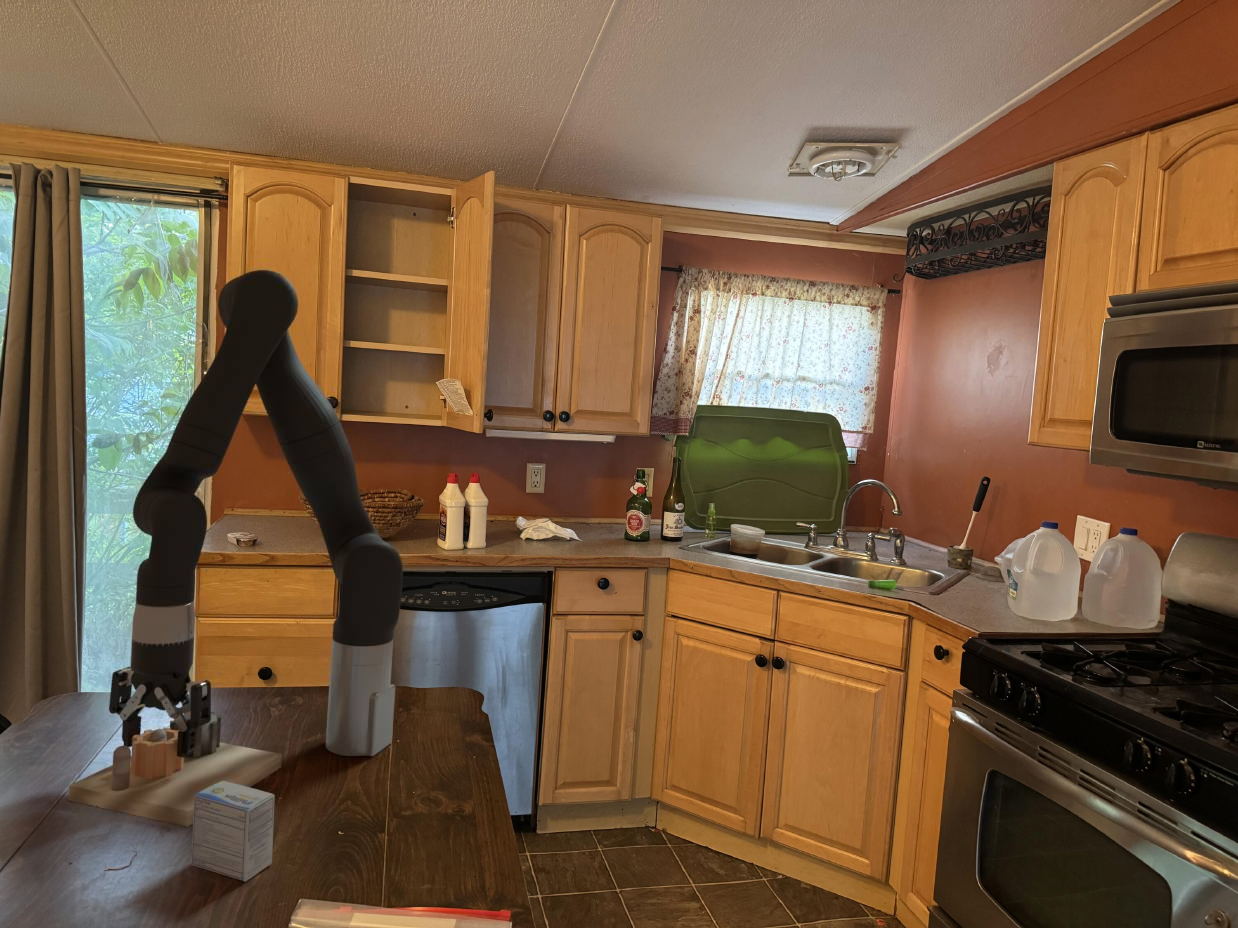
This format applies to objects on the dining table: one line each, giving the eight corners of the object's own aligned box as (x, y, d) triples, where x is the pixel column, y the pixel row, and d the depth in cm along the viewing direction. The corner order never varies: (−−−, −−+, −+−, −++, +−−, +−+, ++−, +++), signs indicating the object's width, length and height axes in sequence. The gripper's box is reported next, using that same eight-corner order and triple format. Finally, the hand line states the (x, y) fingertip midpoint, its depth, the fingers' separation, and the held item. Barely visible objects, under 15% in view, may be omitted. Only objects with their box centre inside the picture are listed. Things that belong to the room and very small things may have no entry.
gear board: (281, 767, 125) (284, 707, 124) (187, 826, 106) (191, 756, 106) (175, 746, 129) (178, 688, 128) (68, 800, 110) (71, 732, 110)
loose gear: (193, 763, 119) (194, 732, 119) (159, 781, 113) (161, 748, 113) (155, 755, 121) (156, 725, 120) (119, 773, 115) (121, 740, 114)
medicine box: (272, 865, 100) (277, 793, 99) (244, 884, 95) (248, 808, 95) (219, 848, 102) (223, 778, 101) (189, 866, 98) (193, 793, 97)
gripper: (227, 634, 118) (221, 748, 119) (140, 620, 121) (135, 731, 122) (188, 648, 111) (182, 769, 112) (97, 633, 114) (91, 751, 115)
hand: (157, 749), depth 117 cm, fingers open, 8 cm apart
